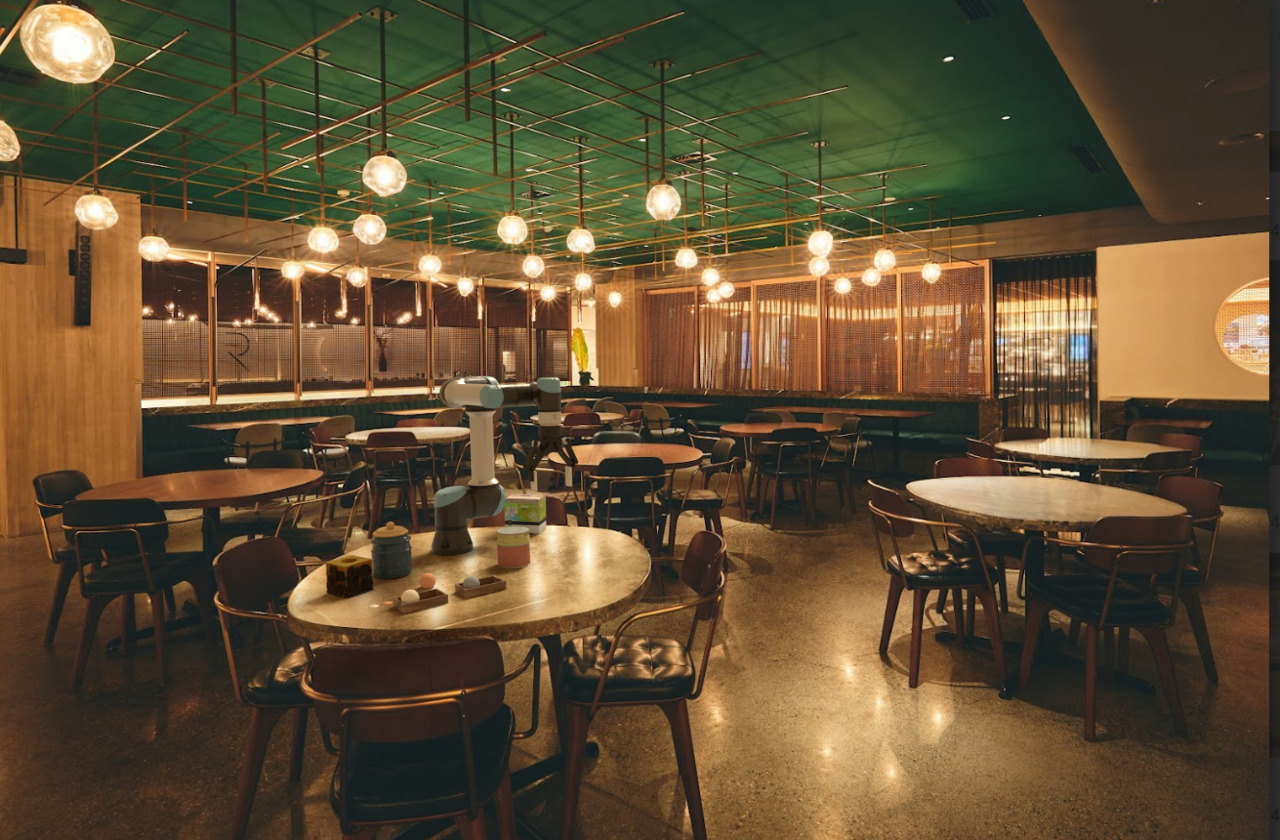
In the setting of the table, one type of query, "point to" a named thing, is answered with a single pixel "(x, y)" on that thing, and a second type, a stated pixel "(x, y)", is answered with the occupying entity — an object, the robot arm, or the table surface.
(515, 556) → the canned food
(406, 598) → the ball cream
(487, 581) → the trough
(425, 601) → the trough
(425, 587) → the ball terracotta
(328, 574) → the brown block
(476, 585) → the ball slate
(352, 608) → the table surface
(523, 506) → the tea box
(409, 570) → the canister
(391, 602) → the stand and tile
